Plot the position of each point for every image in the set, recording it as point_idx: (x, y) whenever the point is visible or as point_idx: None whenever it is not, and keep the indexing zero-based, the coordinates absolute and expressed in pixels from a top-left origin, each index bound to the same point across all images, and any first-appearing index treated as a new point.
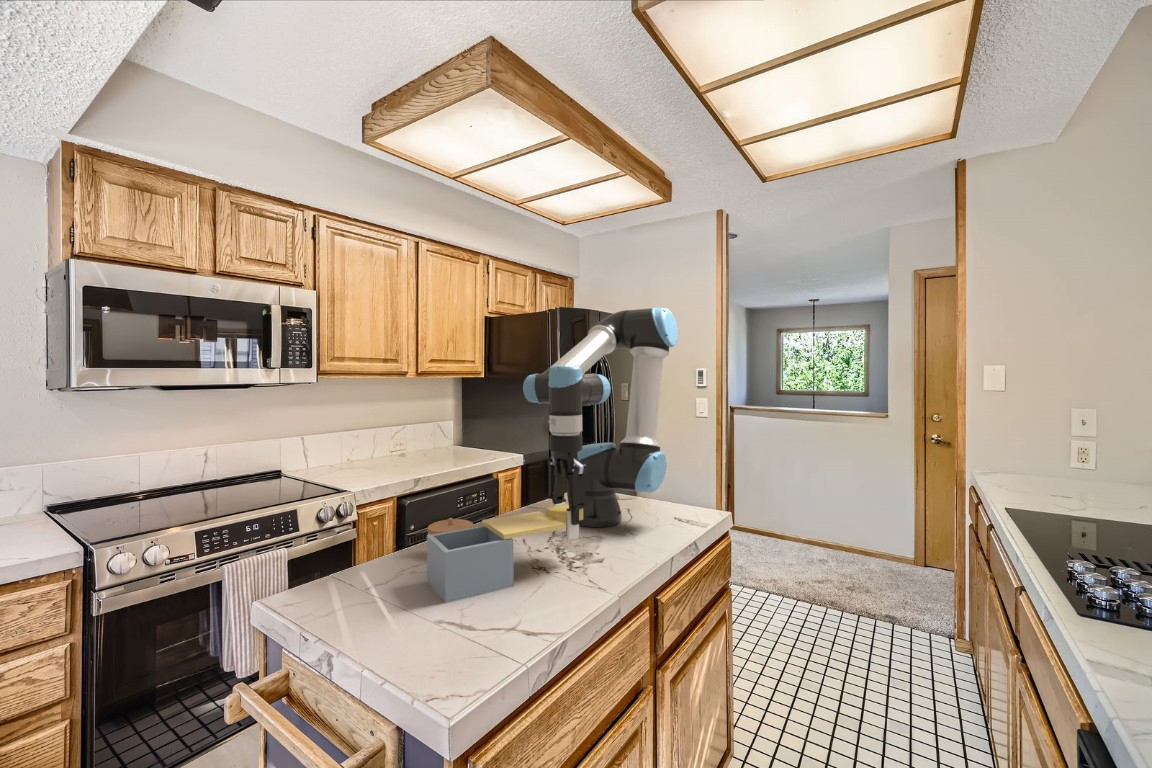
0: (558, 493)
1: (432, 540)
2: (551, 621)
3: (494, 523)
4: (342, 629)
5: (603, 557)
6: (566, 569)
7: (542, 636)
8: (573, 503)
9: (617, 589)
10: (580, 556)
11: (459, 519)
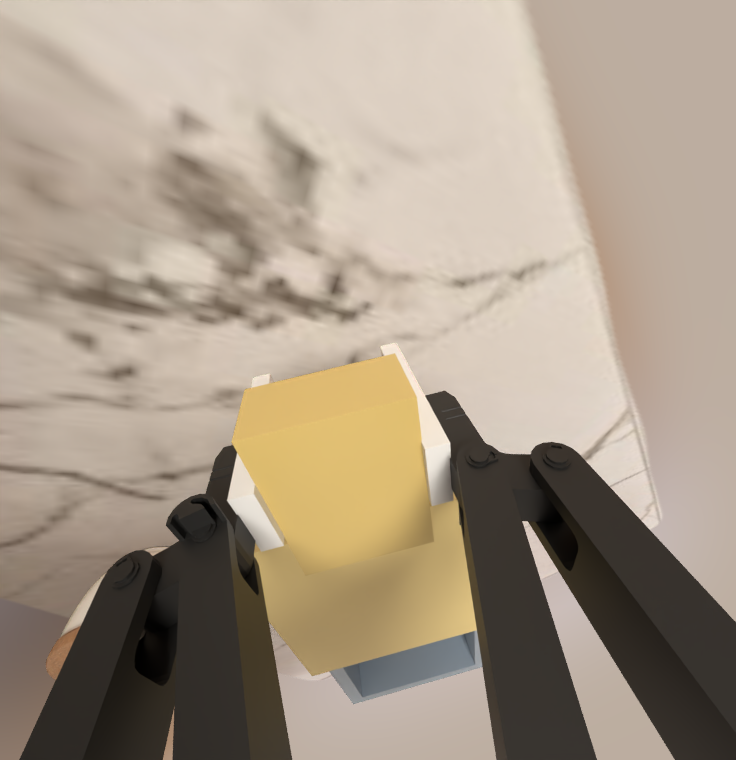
0: (263, 626)
1: (395, 691)
2: (581, 421)
3: (367, 652)
4: None
5: (254, 118)
6: (342, 327)
7: (610, 440)
8: (543, 539)
9: (562, 223)
10: (218, 231)
11: (53, 662)
